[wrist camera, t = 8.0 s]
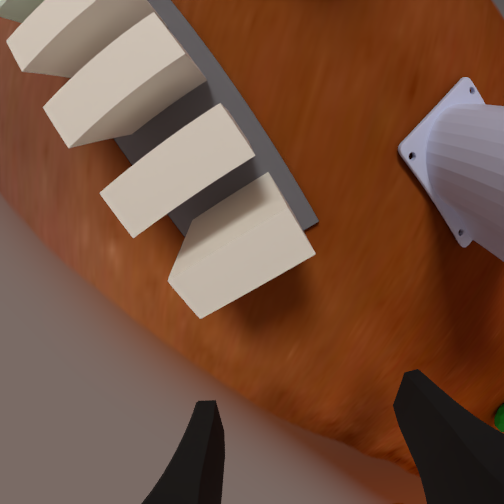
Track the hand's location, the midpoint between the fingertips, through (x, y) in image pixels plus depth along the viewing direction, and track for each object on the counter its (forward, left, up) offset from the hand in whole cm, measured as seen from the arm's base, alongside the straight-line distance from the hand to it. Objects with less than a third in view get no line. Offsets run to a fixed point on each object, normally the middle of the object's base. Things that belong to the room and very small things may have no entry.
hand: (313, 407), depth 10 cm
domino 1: (+16, -5, -10) cm, 20 cm away
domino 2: (+12, -4, -10) cm, 16 cm away
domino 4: (+5, -1, -10) cm, 11 cm away
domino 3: (+9, -2, -10) cm, 13 cm away
